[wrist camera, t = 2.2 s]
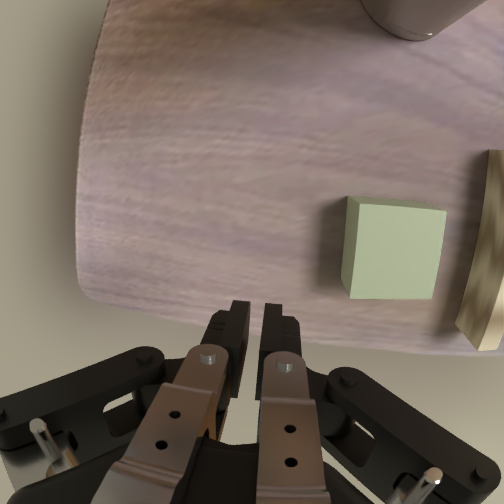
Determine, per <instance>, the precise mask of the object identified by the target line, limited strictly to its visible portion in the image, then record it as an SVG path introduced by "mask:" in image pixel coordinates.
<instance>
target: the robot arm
mask: <svg viewBox="0 0 504 504" xmlns="http://www.w3.org/2000/svg"><path fill="white" fill-rule="evenodd" d="M361 1H362V4H363V6H364V8H365V9H366V11H367V12H368V14H369V15H370V16H371V18H372V19H373V20H374V21H375V22H376V23H378V24H379V25H380V26H381V27H382V28H384V29H385V30H387V31H388V32H390V33H392V34H394V35H396V36H398V37H401V38H404V39H408V40H413V41H423V40H427V39H430V38H432V37H433V36H435V35H436V34H438V33H439V32H441V31H442V30H443V29H445V28H446V27H448V26H449V25H451V24H452V23H454V22H455V21H457V20H458V19H460V18H461V17H463V16H464V15H465V14H467V13H468V12H470V11H471V10H473V9H474V8H476V7H477V6H479V5H480V4H482V3H484V2H485V1H487V0H361ZM249 321H250V302H249V301H238V300H233V302H232V305H231V308H230V311H225V310H219V311H218V312H216V313H215V314H213V315H212V317H211V320H210V323H209V324H208V327H207V329H206V331H205V334H204V336H203V338H202V341H201V343H200V345H197V346H195V347H193V348H192V349H190V350H189V352H188V354H187V356H186V357H185V358H180V359H164V354H163V353H162V352H161V351H160V350H159V349H157V348H154V347H149V346H142V347H137V348H134V349H131V350H129V351H126V352H124V353H121V354H119V355H116V356H114V357H111V358H109V359H106V360H104V361H101V362H98V363H96V364H93V365H91V366H88V367H85V368H83V369H80V370H77V371H75V372H72V373H69V374H67V375H64V376H61V377H59V378H56V379H53V380H51V381H48V382H45V383H43V384H39V385H37V386H34V387H31V388H28V389H26V390H23V391H20V392H17V393H14V394H11V395H9V396H5V397H2V398H0V455H1V457H2V460H3V463H4V465H5V468H6V471H7V473H8V476H9V478H10V480H11V483H12V485H13V488H14V490H15V493H14V494H13V495H12V496H11V498H10V499H9V500H8V502H7V504H374V503H373V502H372V501H371V500H369V499H368V498H367V497H366V496H365V495H364V494H363V493H361V492H360V491H359V490H358V489H357V488H356V487H355V486H353V485H352V484H351V483H350V482H349V481H348V480H347V479H346V478H345V477H344V476H343V475H341V474H340V473H339V472H338V471H337V470H336V469H335V468H333V467H332V466H331V465H329V464H328V463H326V462H324V461H323V458H322V450H321V446H322V447H323V448H324V449H325V450H326V451H327V452H328V453H330V454H331V455H332V456H333V457H334V458H335V459H336V460H337V461H338V462H339V463H340V464H341V465H342V466H343V467H344V468H345V469H347V470H348V471H349V472H350V473H351V474H352V475H353V476H354V477H355V478H357V479H358V480H359V481H360V482H361V483H362V484H363V485H364V486H365V487H367V488H368V489H369V490H370V491H371V492H372V493H373V494H375V495H376V496H377V497H378V498H380V500H382V501H383V502H384V503H385V504H481V502H483V501H484V500H485V499H486V498H487V497H488V496H489V495H490V494H491V493H492V492H493V491H494V490H495V489H496V488H497V487H498V485H499V483H500V480H501V472H500V469H499V467H498V465H497V464H496V463H495V462H494V461H493V460H491V459H490V458H489V457H487V456H485V455H484V454H482V453H481V452H479V451H478V450H476V449H474V448H473V447H471V446H470V445H468V444H467V443H465V442H463V441H462V440H461V439H459V438H457V437H456V436H455V435H453V434H452V433H450V432H449V431H447V430H446V429H444V428H443V427H441V426H440V425H438V424H437V423H435V422H434V421H432V420H431V419H429V418H428V417H426V416H425V415H423V414H422V413H420V412H419V411H418V410H416V409H415V408H413V407H412V406H410V405H409V404H407V403H406V402H404V401H403V400H402V399H400V398H399V397H397V396H396V395H394V394H393V393H392V392H390V391H389V390H387V389H386V388H384V387H383V386H381V385H380V384H379V383H377V382H376V381H375V380H373V379H372V378H370V377H369V376H367V375H366V374H365V373H363V372H362V371H360V370H358V369H355V368H351V367H339V368H336V369H334V370H332V371H331V372H330V373H329V375H324V374H320V373H317V372H314V371H312V370H310V369H309V368H308V367H306V364H305V361H304V359H303V358H302V353H301V338H300V326H299V322H298V321H297V320H296V319H295V317H292V316H282V304H272V303H265V310H264V318H263V326H262V334H261V342H260V349H259V361H258V372H257V384H256V395H255V400H260V407H259V417H258V431H257V442H256V443H253V444H242V445H228V444H225V443H222V442H220V439H221V435H222V431H223V427H224V424H225V420H226V416H227V412H228V405H229V402H230V398H237V397H238V392H239V387H240V382H241V377H242V372H243V366H244V361H245V356H246V351H247V344H248V336H249ZM131 392H132V397H133V399H132V400H130V401H128V402H126V403H124V404H121V405H119V406H117V407H115V408H113V409H111V410H109V411H106V412H104V413H103V409H104V407H105V406H106V405H107V404H108V403H109V402H111V401H113V400H115V399H118V398H120V397H122V396H124V395H126V394H129V393H131ZM355 421H356V422H358V423H359V424H360V425H361V426H363V427H364V428H365V429H366V430H368V431H369V432H370V433H371V434H372V435H373V437H374V439H373V438H372V437H371V436H370V435H368V434H367V433H366V432H365V431H363V430H362V429H361V428H360V427H359V426H357V425H356V424H355Z"/></svg>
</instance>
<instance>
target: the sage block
mask: <svg viewBox="0 0 504 504" xmlns="http://www.w3.org/2000/svg"><path fill="white" fill-rule="evenodd" d="M446 213H447V211H445V210H443V209H440V208H438V207H435V206H433V205H430V204H428V203H425V202H417V201H407V200H396V199H385V198H372V197H359V196H348V197H347V212H346V225H345V237H344V248H343V258H342V268H341V277H340V278H341V280H342V282H343V285H344V287H345V289H346V291H347V294H348V296H349V298H350V299H432V294H433V290H434V285H435V281H436V276H437V271H438V266H439V260H440V255H441V249H442V242H443V236H444V229H445V221H446Z"/></svg>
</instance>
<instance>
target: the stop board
mask: <svg viewBox="0 0 504 504" xmlns="http://www.w3.org/2000/svg"><path fill="white" fill-rule="evenodd" d="M455 325H456V326H457V327H458V328H459V329H460V330H461V332H462V333H463V334H464V335H465V336H466V338H467V339H468V340H469V341H470V342H471V344H472V345H473V346H474V347H475V348H476V350H477V351H485V350H496V349H497V348H498V345H499V343H500V340H501V338H502V335H503V333H504V150H489V155H488V168H487V179H486V188H485V196H484V203H483V210H482V216H481V222H480V228H479V233H478V238H477V243H476V248H475V253H474V257H473V262H472V266H471V270H470V274H469V278H468V281H467V285H466V289H465V292H464V296H463V299H462V303H461V306H460V309H459V312H458V315H457V318H456V321H455Z"/></svg>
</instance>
